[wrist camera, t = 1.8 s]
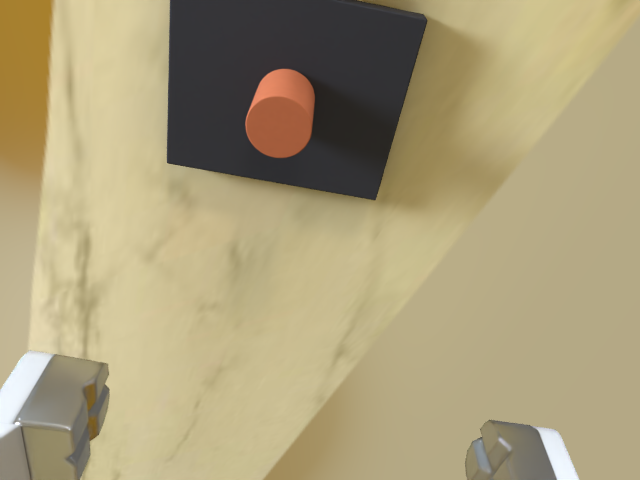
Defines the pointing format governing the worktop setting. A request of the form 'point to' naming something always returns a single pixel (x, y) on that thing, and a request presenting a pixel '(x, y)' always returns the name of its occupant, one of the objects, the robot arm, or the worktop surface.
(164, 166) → the worktop surface
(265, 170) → the tab pad
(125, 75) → the worktop surface
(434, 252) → the worktop surface
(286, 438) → the worktop surface
